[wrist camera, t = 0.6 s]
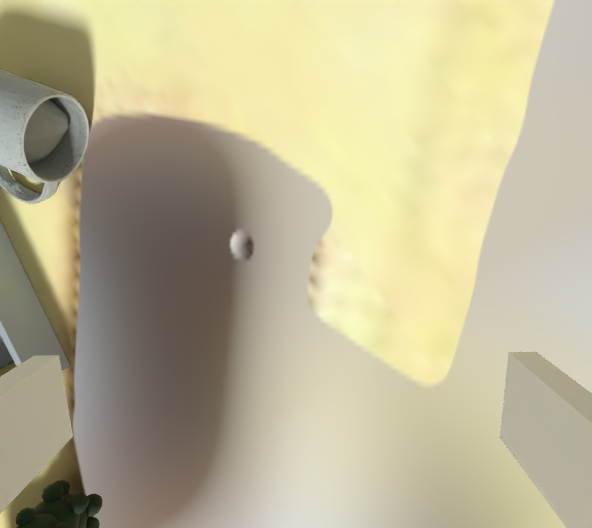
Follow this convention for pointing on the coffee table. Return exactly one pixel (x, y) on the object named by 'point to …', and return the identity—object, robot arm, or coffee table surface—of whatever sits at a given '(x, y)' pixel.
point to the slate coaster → (4, 354)
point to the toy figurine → (61, 509)
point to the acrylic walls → (23, 311)
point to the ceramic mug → (38, 135)
